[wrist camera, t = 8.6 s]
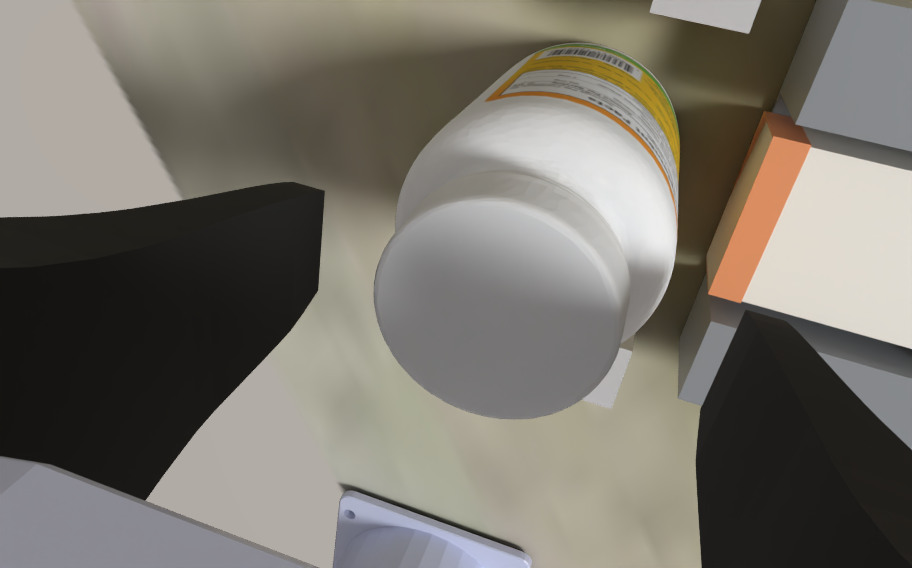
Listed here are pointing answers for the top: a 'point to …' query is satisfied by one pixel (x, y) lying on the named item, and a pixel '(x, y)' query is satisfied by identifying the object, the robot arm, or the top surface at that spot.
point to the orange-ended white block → (819, 231)
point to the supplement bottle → (534, 234)
